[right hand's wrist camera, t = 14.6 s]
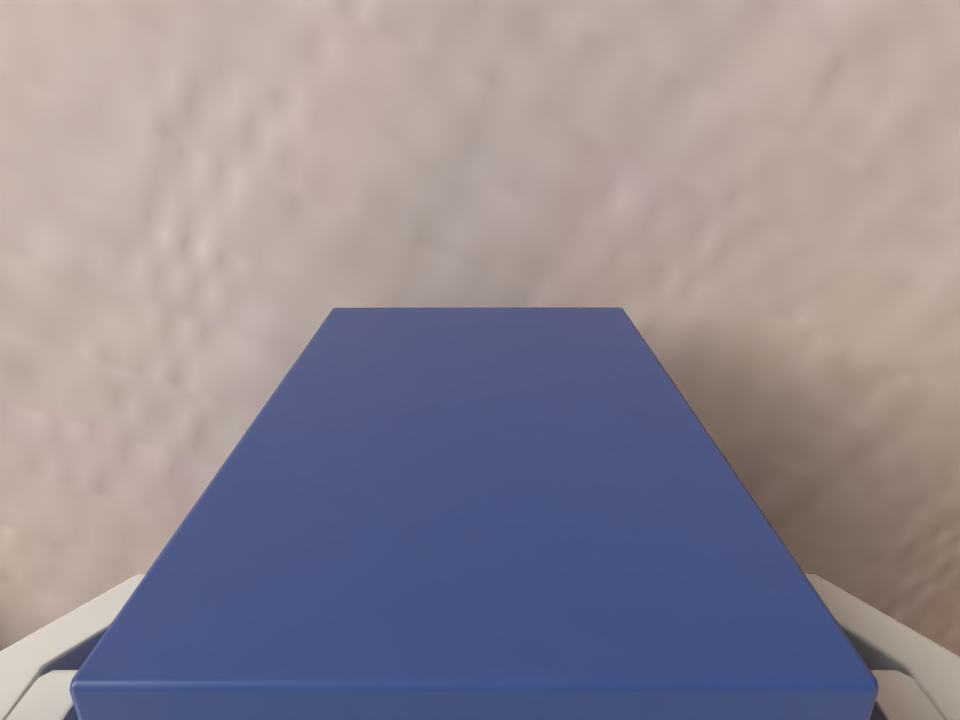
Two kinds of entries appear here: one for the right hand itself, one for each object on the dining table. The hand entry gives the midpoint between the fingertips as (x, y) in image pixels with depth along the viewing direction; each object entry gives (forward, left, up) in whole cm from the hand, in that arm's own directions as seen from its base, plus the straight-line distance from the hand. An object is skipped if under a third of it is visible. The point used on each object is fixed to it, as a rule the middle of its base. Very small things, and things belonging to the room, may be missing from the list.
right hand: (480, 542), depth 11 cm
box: (+7, +2, -4) cm, 9 cm away
